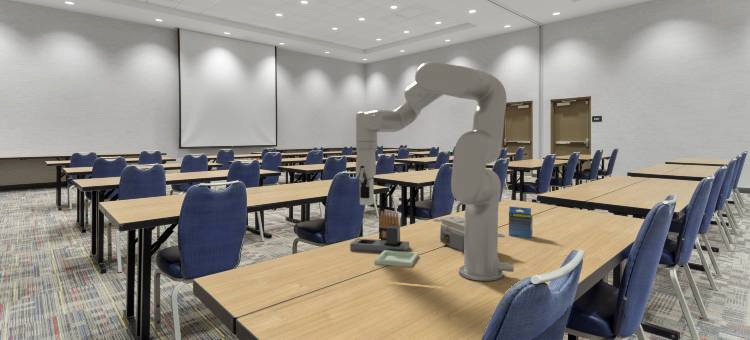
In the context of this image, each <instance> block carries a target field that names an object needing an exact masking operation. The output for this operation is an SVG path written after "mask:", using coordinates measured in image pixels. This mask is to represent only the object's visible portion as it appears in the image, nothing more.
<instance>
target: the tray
mask: <svg viewBox="0 0 750 340" xmlns="http://www.w3.org/2000/svg"><path fill="white" fill-rule="evenodd" d="M418 257H419V252H415V251H407V252H403V251H389V250H384V251H383V252H382V253H380V254H379V255H377V257H376V258H375V259H374V263H373V264H374V265H382V266H383V265H384V266H395V267H407V268H408V267H410V268H411V267H412V266H413V265H414V264H415V262H416V260H417V259H418Z"/></svg>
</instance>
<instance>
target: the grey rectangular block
mask: <svg viewBox="0 0 750 340" xmlns="http://www.w3.org/2000/svg"><path fill="white" fill-rule="evenodd" d="M364 178H367V177H364ZM374 180H375V179H374V178H373V179H372V177H371V178H369V183H368V187H369V198H361V197H360V196H359V205H361V206H372V205H374V203H375V202H374V196H375V194H374V192H375V191H374V187H375V186H374ZM365 181H366V180H365Z"/></svg>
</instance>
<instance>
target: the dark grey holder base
mask: <svg viewBox="0 0 750 340" xmlns="http://www.w3.org/2000/svg"><path fill="white" fill-rule="evenodd" d="M349 248H350V249H349V250H350V251H351V252H352V251H354V252H355V251H356V252H365V253H380V254H381V253H382V252H383V251H384V250H389V251H403V252H409V249H410V241H406V240H405V241H403V240H401V226H400V225H399V226H388V227H387V228H386V240H379V239H372V238H369V239H368V238H358V237H357V238H356V239H355V240H353V241H352V242H350V244H349Z"/></svg>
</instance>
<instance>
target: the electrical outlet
mask: <svg viewBox="0 0 750 340" xmlns="http://www.w3.org/2000/svg"><path fill="white" fill-rule="evenodd" d="M433 222H436V223H437V222H438V223H440V222H441V224H440V235H439V239H440V243H442V244H443V245H447V246H448V247H450V248H452V249H455V250H458V251H460V252H464V227H465V217H462V216H459V215H458V216H451V217H450V216H449V217H448V216H447V217H444V218H439V219H438V218H434V219H433ZM505 237H506V235H505V234H502V233H498V238H505Z"/></svg>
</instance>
